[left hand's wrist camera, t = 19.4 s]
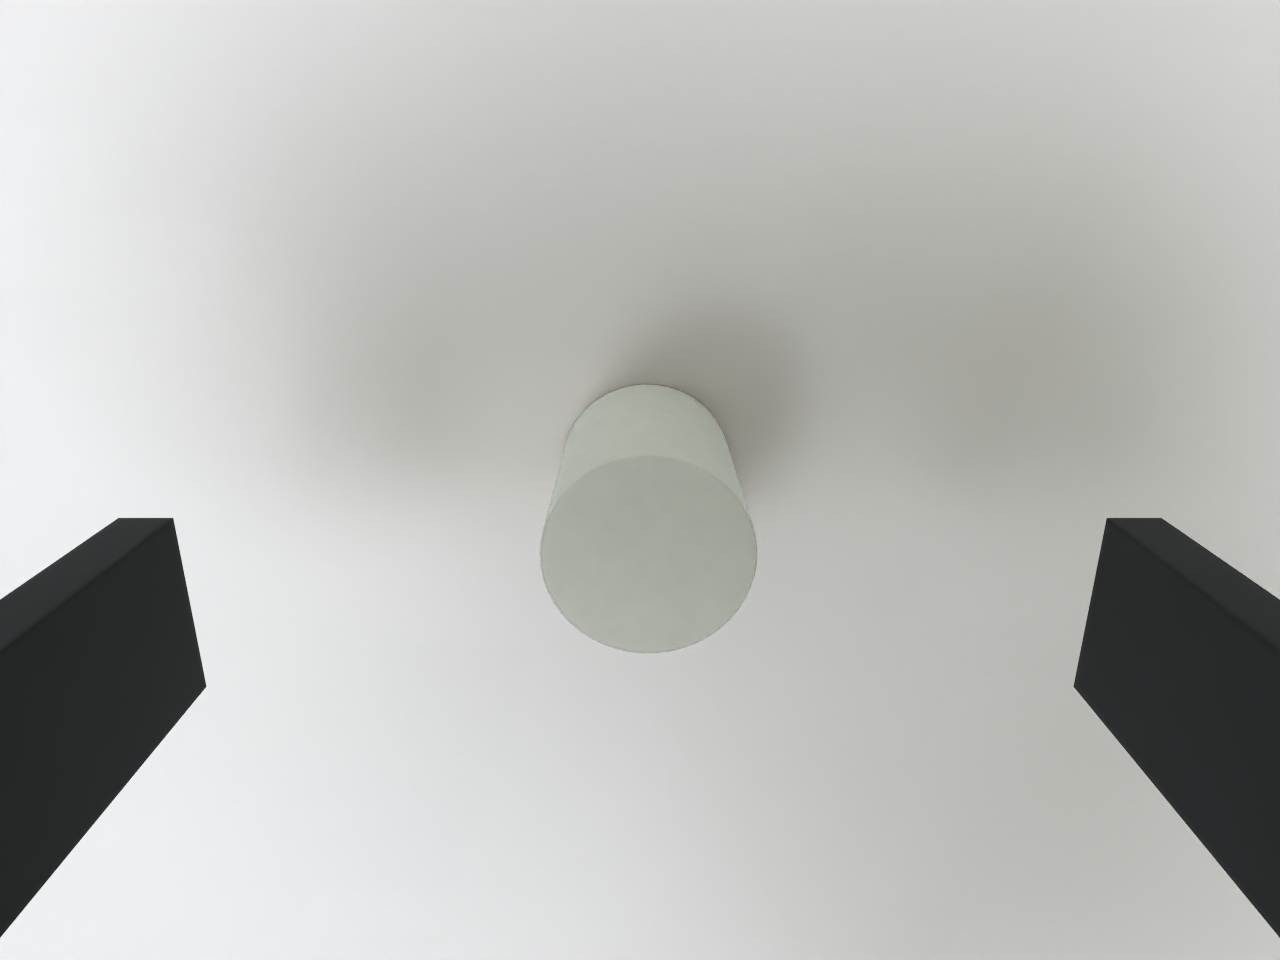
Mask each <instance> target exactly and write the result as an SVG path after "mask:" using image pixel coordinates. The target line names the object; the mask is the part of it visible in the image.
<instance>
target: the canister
mask: <svg viewBox="0 0 1280 960" xmlns="http://www.w3.org/2000/svg"><path fill="white" fill-rule="evenodd" d="M540 563H541V570H542V575H543V579H544V582H545V585H546V588H547V590H548V593H549V594H550V596H551V598H552V600H553V602H554V604H555V605H556V606H557V608H558V609H559V611H560V612H561V613H562V614H563V615H564V617H565V618H566V619H567V620H568V621H569V622H570V623H571V624H572V625H573V626H575V627H576V628H577V629H578V630H580V631H581V632H582V633H584V634H585V635H587V636H588V637H590V638H592V639H594V640H596V641H598V642H600V643H602V644H604V645H607V646H610V647H613V648H616V649H620V650H624V651H629V652H638V653H659V652H667V651H673V650H677V649H680V648H684V647H687V646H689V645H692V644H695V643H697V642H699V641H701V640H703V639H705V638H707V637H708V636H710V635H711V634H713V633H714V632H716V631H717V630H718V629H720V628H721V627H722V626H723V625H724V624H725V623H726V622H728V621H729V620H730V618H731V617H732V616H733V615H734V614H735V613H736V611H737V610H738V609H739V607H740V606H741V604H742V603H743V601H744V600H745V598H746V596H747V594H748V592H749V590H750V588H751V585H752V582H753V579H754V575H755V570H756V564H757V544H756V536H755V532H754V528H753V524H752V521H751V518H750V515H749V512H748V508H747V505H746V502H745V499H744V496H743V492H742V489H741V486H740V483H739V480H738V477H737V473H736V470H735V467H734V464H733V461H732V457H731V454H730V451H729V448H728V445H727V441H726V438H725V436H724V434H723V431H722V429H721V427H720V426H719V424H718V422H717V421H716V419H715V418H714V417H713V415H712V414H711V413H710V412H709V411H708V410H707V409H706V408H705V407H704V406H703V405H702V404H701V403H699V402H698V401H697V400H695V399H694V398H693V397H691V396H689V395H687V394H685V393H683V392H681V391H678V390H676V389H673V388H669V387H665V386H660V385H651V384H648V385H634V386H627V387H624V388H620V389H617V390H615V391H612V392H610V393H608V394H606V395H604V396H602V397H601V398H599V399H597V400H596V401H595V402H594V403H592V404H591V405H590V406H589V407H588V408H587V409H586V410H585V411H584V412H583V413H582V414H581V415H580V417H579V418H578V419H577V421H576V422H575V424H574V425H573V427H572V429H571V431H570V433H569V436H568V438H567V441H566V444H565V448H564V452H563V456H562V460H561V464H560V467H559V471H558V475H557V479H556V483H555V487H554V490H553V494H552V498H551V502H550V506H549V510H548V513H547V517H546V521H545V525H544V529H543V533H542V538H541V545H540Z"/></svg>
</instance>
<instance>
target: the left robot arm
mask: <svg viewBox="0 0 1280 960" xmlns="http://www.w3.org/2000/svg"><path fill="white" fill-rule="evenodd" d="M205 688H206V683H205V677H204V672H203V667H202V662H201V657H200V652H199V647H198V642H197V637H196V632H195V627H194V622H193V617H192V611H191V606H190V601H189V596H188V591H187V586H186V581H185V576H184V571H183V566H182V561H181V556H180V551H179V545H178V540H177V535H176V530H175V525H174V520H173V518H118V519H117V520H115V521H114V522H112V523H111V524H109V525H108V526H106V527H105V528H104V529H102V530H101V531H99V532H98V533H96V534H95V535H93V536H92V537H91V538H89V539H88V540H86V541H85V542H83V543H82V544H80V545H79V546H77V547H76V548H75V549H73V550H72V551H70V552H69V553H67V554H66V555H64V556H63V557H62V558H60V559H59V560H57V561H56V562H54V563H53V564H51V565H50V566H49V567H47V568H46V569H44V570H43V571H41V572H40V573H38V574H37V575H35V576H34V577H33V578H31V579H30V580H28V581H27V582H25V583H24V584H22V585H21V586H20V587H18V588H17V589H15V590H14V591H12V592H11V593H9V594H8V595H6V596H5V597H4V598H2V599H1V600H0V937H1V936H2V935H3V933H4V932H5V931H6V930H7V929H8V927H9V926H10V925H11V924H12V923H13V921H14V920H15V919H16V918H17V916H18V915H19V914H20V913H21V912H22V910H23V909H24V908H25V907H26V905H27V904H28V903H29V902H30V901H31V899H32V898H33V897H34V896H35V895H36V893H37V892H38V891H39V890H40V888H41V887H42V886H43V885H44V884H45V882H46V881H47V880H48V879H49V877H50V876H51V875H52V874H53V873H54V871H55V870H56V869H57V868H58V867H59V865H60V864H61V863H62V862H63V860H64V859H65V858H66V857H67V856H68V854H69V853H70V852H71V851H72V849H73V848H74V847H75V846H76V845H77V843H78V842H79V841H80V840H81V839H82V837H83V836H84V835H85V834H86V832H87V831H88V830H89V829H90V828H91V826H92V825H93V824H94V823H95V821H96V820H97V819H98V818H99V817H100V815H101V814H102V813H103V812H104V811H105V809H106V808H107V807H108V806H109V804H110V803H111V802H112V801H113V800H114V798H115V797H116V796H117V795H118V793H119V792H120V791H121V790H122V789H123V787H124V786H125V785H126V784H127V783H128V781H129V780H130V779H131V778H132V776H133V775H134V774H135V773H136V772H137V770H138V769H139V768H140V767H141V765H142V764H143V763H144V762H145V761H146V759H147V758H148V757H149V756H150V754H151V753H152V752H153V751H154V750H155V748H156V747H157V746H158V745H159V744H160V742H161V741H162V740H163V739H164V737H165V736H166V735H167V734H168V733H169V731H170V730H171V729H172V728H173V726H174V725H175V724H176V723H177V722H178V720H179V719H180V718H181V717H182V716H183V714H184V713H185V712H186V711H187V709H188V708H189V707H190V706H191V705H192V703H193V702H194V701H195V700H196V698H197V697H198V696H199V695H200V694H201V692H202V691H203V690H204V689H205ZM1074 688H1075V689H1076V690H1077V691H1078V692H1079V694H1080V695H1081V696H1082V697H1083V698H1084V700H1085V701H1086V702H1087V703H1088V705H1089V706H1090V707H1091V708H1092V709H1093V711H1094V712H1095V713H1096V714H1097V716H1098V717H1099V718H1100V719H1101V720H1102V722H1103V723H1104V724H1105V725H1106V726H1107V728H1108V729H1109V730H1110V731H1111V733H1112V734H1113V735H1114V736H1115V737H1116V739H1117V740H1118V741H1119V742H1120V744H1121V745H1122V746H1123V747H1124V748H1125V750H1126V751H1127V752H1128V753H1129V754H1130V756H1131V757H1132V758H1133V759H1134V761H1135V762H1136V763H1137V764H1138V765H1139V767H1140V768H1141V769H1142V770H1143V772H1144V773H1145V774H1146V775H1147V776H1148V778H1149V779H1150V780H1151V781H1152V783H1153V784H1154V785H1155V786H1156V787H1157V789H1158V790H1159V791H1160V792H1161V793H1162V795H1163V796H1164V797H1165V798H1166V800H1167V801H1168V802H1169V803H1170V804H1171V806H1172V807H1173V808H1174V809H1175V811H1176V812H1177V813H1178V814H1179V815H1180V817H1181V818H1182V819H1183V820H1184V821H1185V823H1186V824H1187V825H1188V826H1189V828H1190V829H1191V830H1192V831H1193V832H1194V834H1195V835H1196V836H1197V837H1198V839H1199V840H1200V841H1201V842H1202V843H1203V845H1204V846H1205V847H1206V848H1207V849H1208V851H1209V852H1210V853H1211V854H1212V856H1213V857H1214V858H1215V859H1216V860H1217V862H1218V863H1219V864H1220V865H1221V867H1222V868H1223V869H1224V870H1225V871H1226V873H1227V874H1228V875H1229V876H1230V877H1231V879H1232V880H1233V881H1234V882H1235V884H1236V885H1237V886H1238V887H1239V888H1240V890H1241V891H1242V892H1243V893H1244V895H1245V896H1246V897H1247V898H1248V899H1249V901H1250V902H1251V903H1252V904H1253V905H1254V907H1255V908H1256V909H1257V910H1258V912H1259V913H1260V914H1261V915H1262V916H1263V918H1264V919H1265V920H1266V921H1267V923H1268V924H1269V925H1270V926H1271V927H1272V929H1273V930H1274V931H1275V932H1276V933H1277V935H1278V936H1279V937H1280V600H1279V599H1278V598H1276V597H1275V596H1274V595H1272V594H1271V593H1269V592H1268V591H1266V590H1265V589H1263V588H1262V587H1260V586H1259V585H1258V584H1256V583H1255V582H1253V581H1252V580H1250V579H1249V578H1247V577H1246V576H1245V575H1243V574H1242V573H1240V572H1239V571H1237V570H1236V569H1234V568H1233V567H1231V566H1230V565H1229V564H1227V563H1226V562H1224V561H1223V560H1221V559H1220V558H1218V557H1217V556H1216V555H1214V554H1213V553H1211V552H1210V551H1208V550H1207V549H1205V548H1204V547H1202V546H1201V545H1200V544H1198V543H1197V542H1195V541H1194V540H1192V539H1191V538H1189V537H1188V536H1187V535H1185V534H1184V533H1182V532H1181V531H1179V530H1178V529H1176V528H1175V527H1174V526H1172V525H1171V524H1169V523H1168V522H1166V521H1165V520H1163V519H1162V518H1107V520H1106V525H1105V530H1104V535H1103V540H1102V545H1101V551H1100V556H1099V561H1098V566H1097V571H1096V576H1095V581H1094V586H1093V591H1092V596H1091V601H1090V606H1089V611H1088V617H1087V622H1086V627H1085V632H1084V637H1083V642H1082V647H1081V652H1080V657H1079V662H1078V667H1077V672H1076V677H1075V683H1074Z"/></svg>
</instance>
